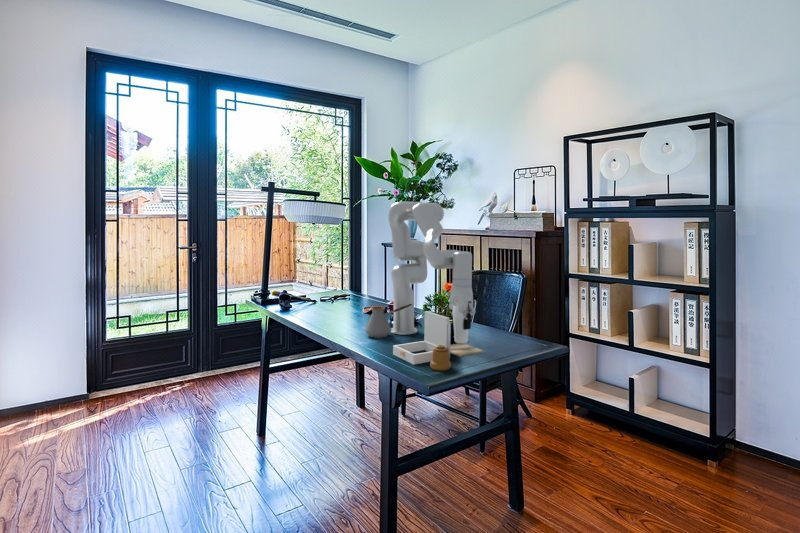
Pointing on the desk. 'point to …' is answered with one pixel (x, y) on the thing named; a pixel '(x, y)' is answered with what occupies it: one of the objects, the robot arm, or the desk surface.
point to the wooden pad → (464, 349)
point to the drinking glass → (459, 326)
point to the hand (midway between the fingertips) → (461, 326)
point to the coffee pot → (380, 322)
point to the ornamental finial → (440, 359)
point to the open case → (426, 340)
